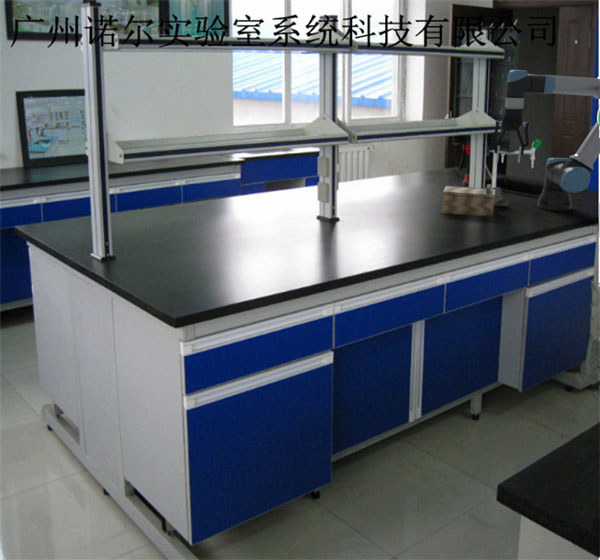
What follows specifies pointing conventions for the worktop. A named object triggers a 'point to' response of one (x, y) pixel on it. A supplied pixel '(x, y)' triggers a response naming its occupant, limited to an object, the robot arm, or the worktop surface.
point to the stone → (500, 197)
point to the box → (468, 203)
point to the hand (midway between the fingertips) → (507, 161)
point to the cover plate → (471, 190)
